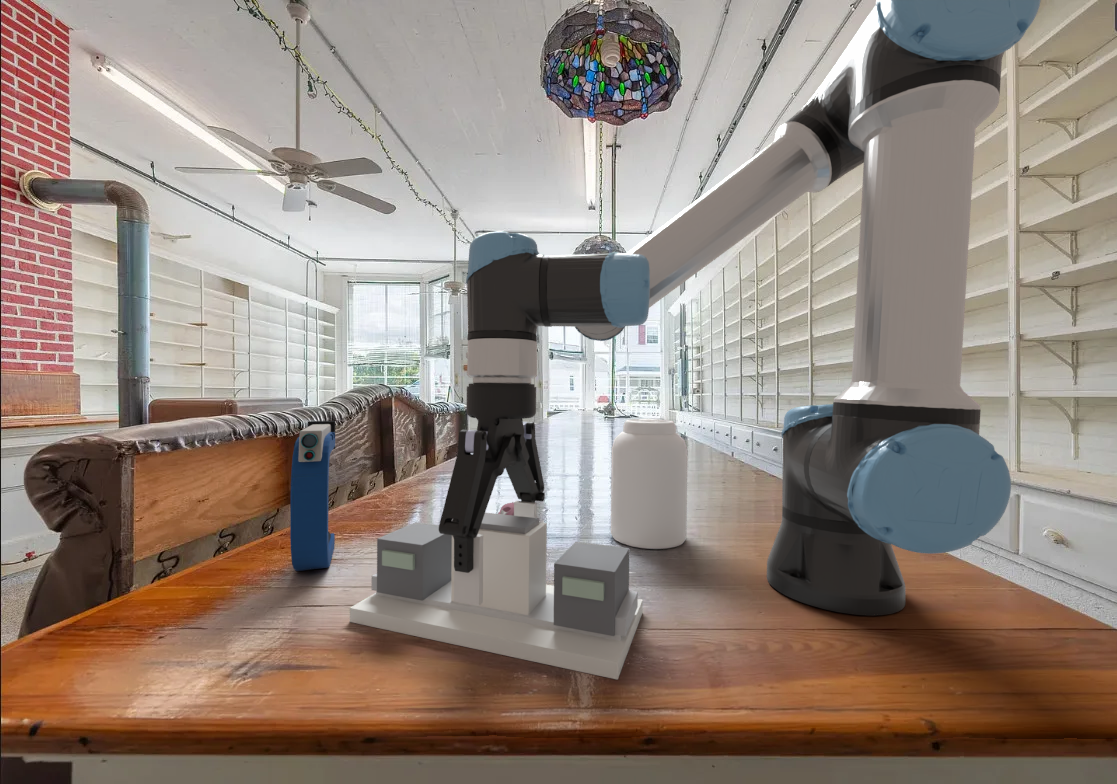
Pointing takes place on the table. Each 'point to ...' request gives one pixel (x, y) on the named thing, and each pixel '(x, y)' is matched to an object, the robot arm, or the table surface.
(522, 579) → the block
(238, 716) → the table surface
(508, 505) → the pink rounded piece
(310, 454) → the handheld scanner
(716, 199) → the robot arm
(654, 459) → the white jar
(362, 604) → the board
